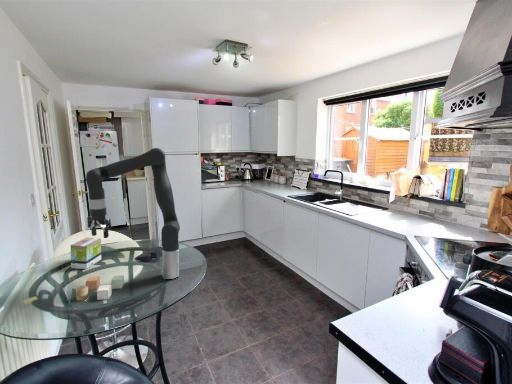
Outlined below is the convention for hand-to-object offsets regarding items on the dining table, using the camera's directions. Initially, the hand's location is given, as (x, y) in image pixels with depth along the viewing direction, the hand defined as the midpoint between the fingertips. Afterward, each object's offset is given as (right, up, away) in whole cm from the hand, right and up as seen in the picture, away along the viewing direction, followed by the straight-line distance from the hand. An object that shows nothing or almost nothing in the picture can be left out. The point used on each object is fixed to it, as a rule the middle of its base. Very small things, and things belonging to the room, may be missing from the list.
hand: (100, 236), depth 143 cm
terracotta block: (-3, -27, -1) cm, 27 cm away
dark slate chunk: (+11, -21, +43) cm, 49 cm away
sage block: (+9, -27, +2) cm, 28 cm away
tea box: (-23, -21, +25) cm, 40 cm away
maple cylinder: (-2, -29, -11) cm, 31 cm away
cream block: (+7, -29, -9) cm, 31 cm away
